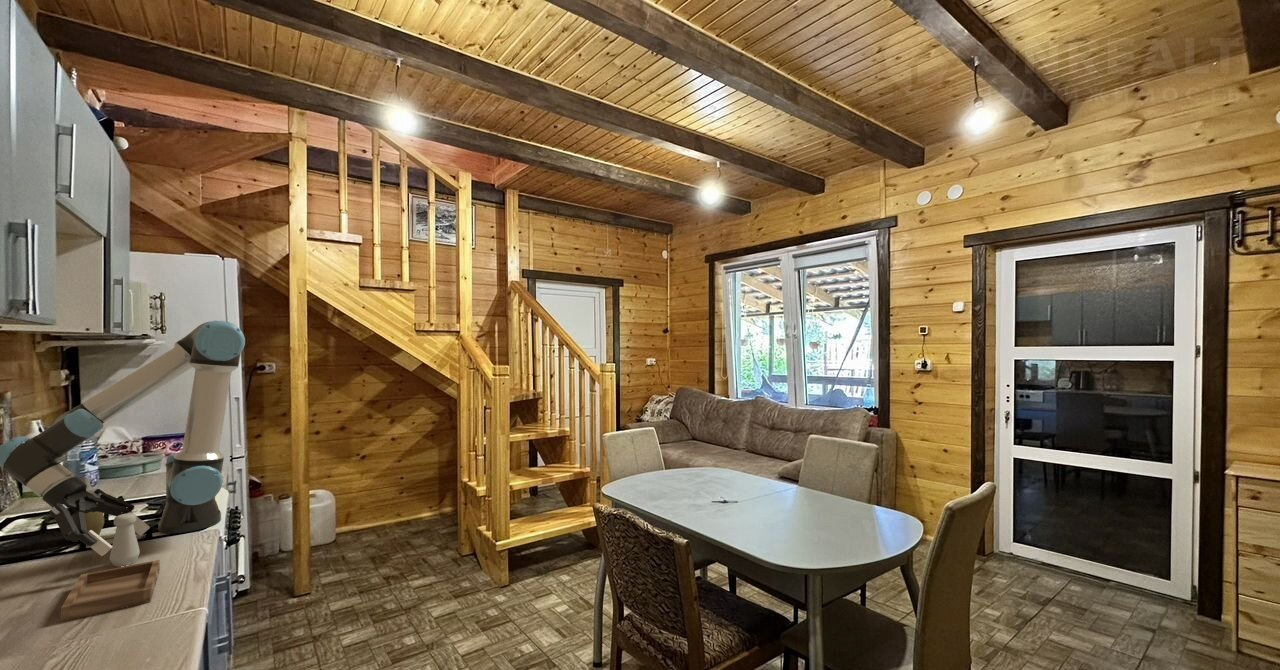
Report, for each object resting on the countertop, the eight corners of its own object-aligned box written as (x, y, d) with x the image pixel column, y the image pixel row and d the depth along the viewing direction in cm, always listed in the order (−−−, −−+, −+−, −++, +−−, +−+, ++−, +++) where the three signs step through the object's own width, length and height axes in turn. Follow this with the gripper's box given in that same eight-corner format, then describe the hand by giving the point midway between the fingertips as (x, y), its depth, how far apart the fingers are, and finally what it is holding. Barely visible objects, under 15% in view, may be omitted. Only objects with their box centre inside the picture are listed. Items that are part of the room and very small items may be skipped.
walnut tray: (81, 586, 128) (81, 574, 128) (159, 571, 137) (159, 559, 137) (61, 621, 113) (61, 607, 113) (150, 601, 121) (150, 588, 121)
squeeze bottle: (92, 541, 155) (92, 479, 155) (57, 544, 152) (57, 481, 152) (111, 531, 163) (111, 472, 162) (77, 534, 160) (77, 474, 160)
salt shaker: (120, 569, 137) (120, 519, 137) (103, 567, 138) (103, 517, 138) (145, 560, 143) (145, 511, 143) (128, 558, 144) (128, 510, 144)
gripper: (85, 483, 149) (148, 533, 152) (-2, 514, 124) (76, 573, 128) (107, 464, 150) (169, 514, 153) (26, 490, 126) (102, 549, 129)
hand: (127, 541), depth 140 cm, fingers open, 13 cm apart
